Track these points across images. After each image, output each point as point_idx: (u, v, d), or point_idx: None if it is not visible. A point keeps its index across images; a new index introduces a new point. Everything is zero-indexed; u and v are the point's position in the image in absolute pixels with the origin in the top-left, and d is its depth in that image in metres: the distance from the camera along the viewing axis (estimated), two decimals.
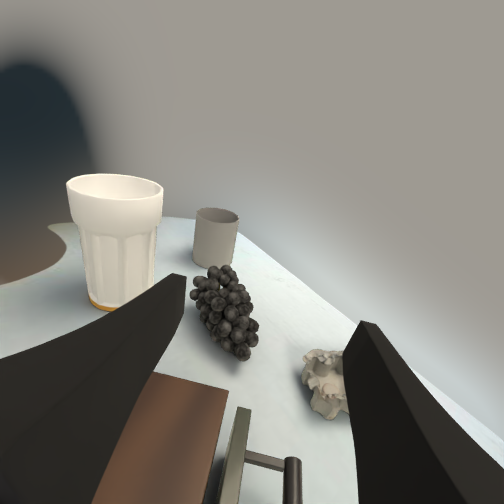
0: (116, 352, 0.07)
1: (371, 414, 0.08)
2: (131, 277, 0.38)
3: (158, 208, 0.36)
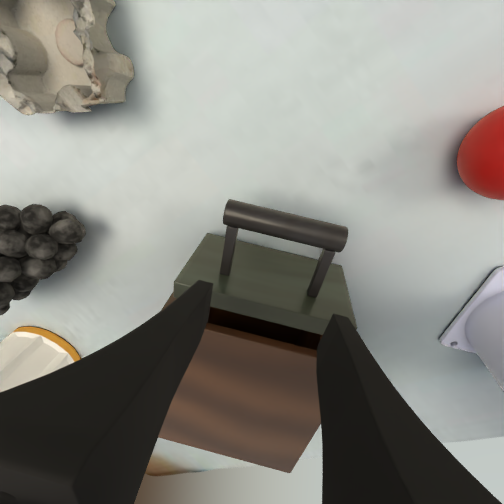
0: (159, 363, 0.07)
1: (336, 405, 0.08)
2: None
3: None
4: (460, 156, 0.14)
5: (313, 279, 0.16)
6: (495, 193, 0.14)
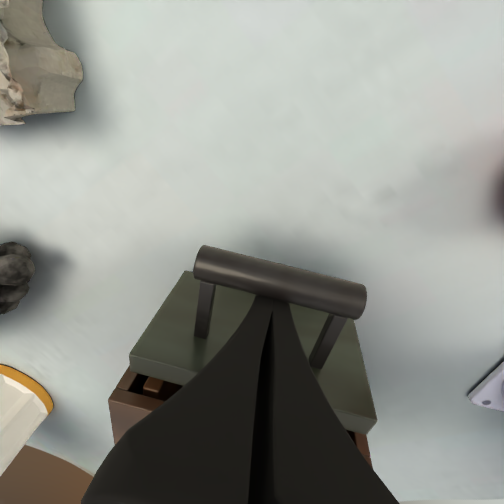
0: (256, 389, 0.06)
1: (262, 385, 0.09)
2: None
3: None
4: None
5: (317, 348, 0.12)
6: None
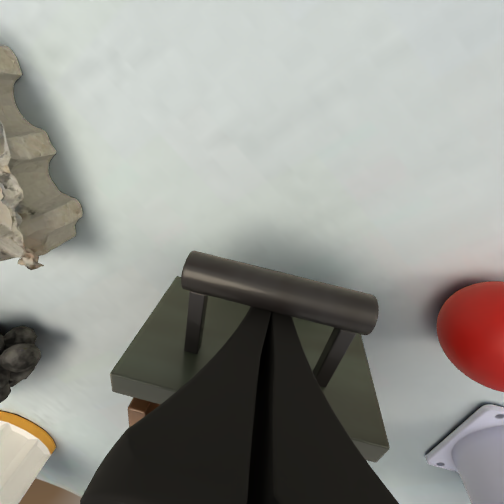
0: (256, 389, 0.06)
1: (262, 385, 0.09)
2: None
3: None
4: (439, 329, 0.13)
5: (321, 364, 0.11)
6: None
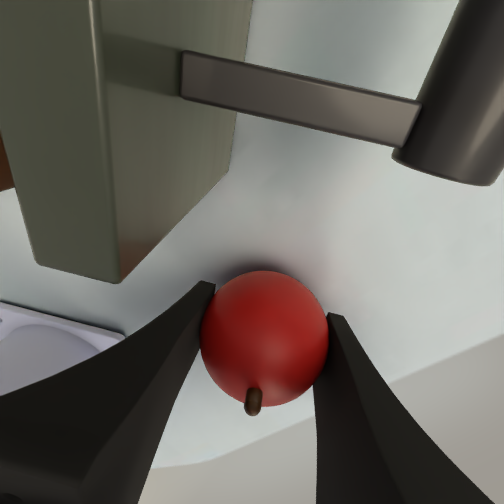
0: (163, 364, 0.07)
1: (331, 403, 0.08)
2: None
3: None
4: (256, 278, 0.09)
5: (267, 69, 0.04)
6: (205, 336, 0.09)
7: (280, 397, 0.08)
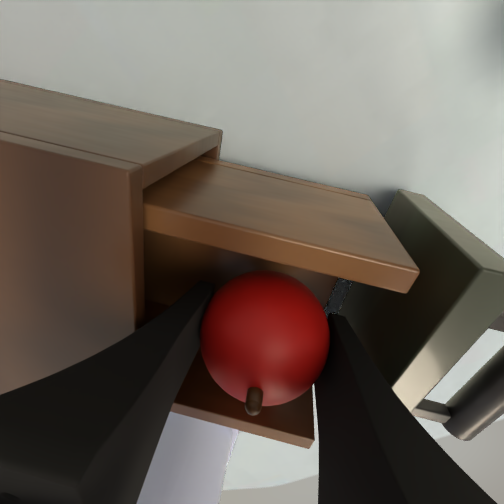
0: (162, 364, 0.07)
1: (333, 404, 0.08)
2: None
3: None
4: (257, 277, 0.09)
5: None
6: (206, 335, 0.09)
7: (281, 397, 0.08)
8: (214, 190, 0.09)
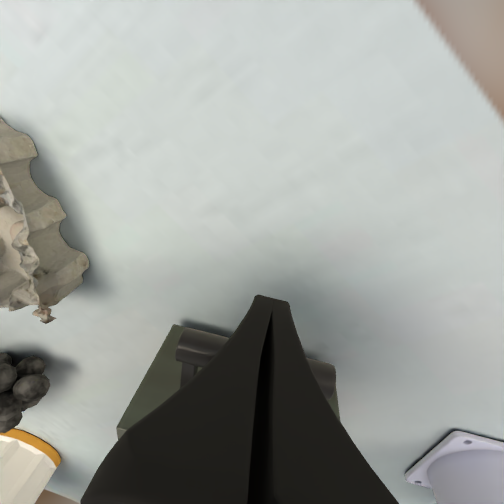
0: (256, 389, 0.06)
1: (262, 385, 0.09)
2: None
3: None
4: None
5: None
6: None
7: None
8: None
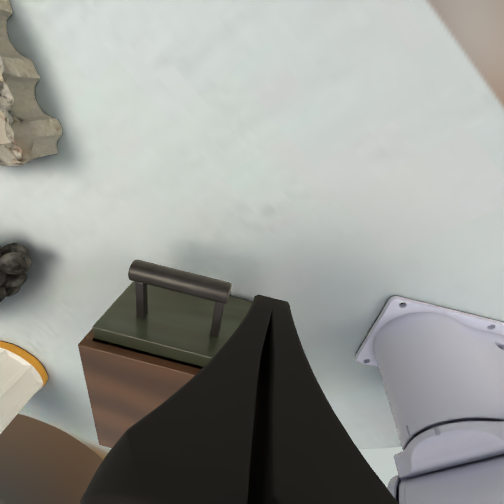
0: (255, 389, 0.06)
1: (262, 385, 0.09)
2: None
3: None
4: None
5: (211, 323, 0.19)
6: None
7: None
8: None
